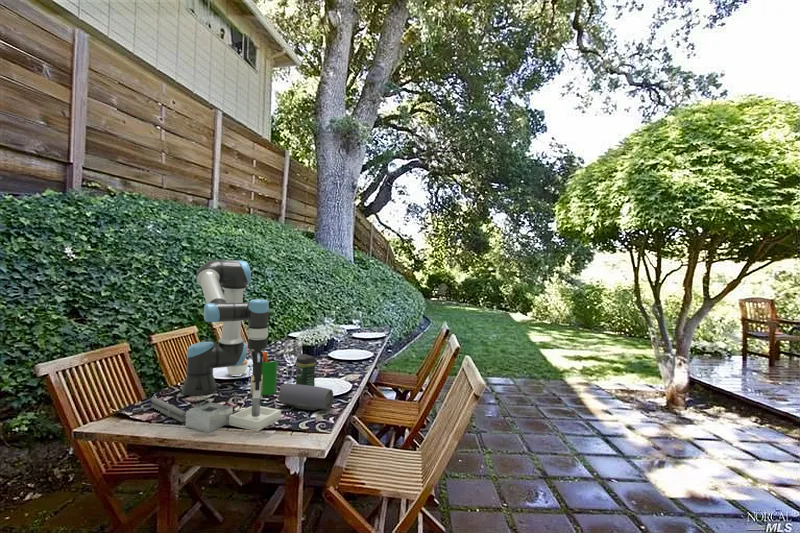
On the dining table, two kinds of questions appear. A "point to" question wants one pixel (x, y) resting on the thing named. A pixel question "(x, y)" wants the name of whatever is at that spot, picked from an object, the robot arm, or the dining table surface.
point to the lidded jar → (237, 369)
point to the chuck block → (208, 417)
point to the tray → (254, 418)
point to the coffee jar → (305, 370)
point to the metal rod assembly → (168, 409)
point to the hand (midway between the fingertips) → (256, 395)
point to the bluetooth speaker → (306, 396)
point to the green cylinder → (268, 375)
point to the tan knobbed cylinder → (255, 400)
